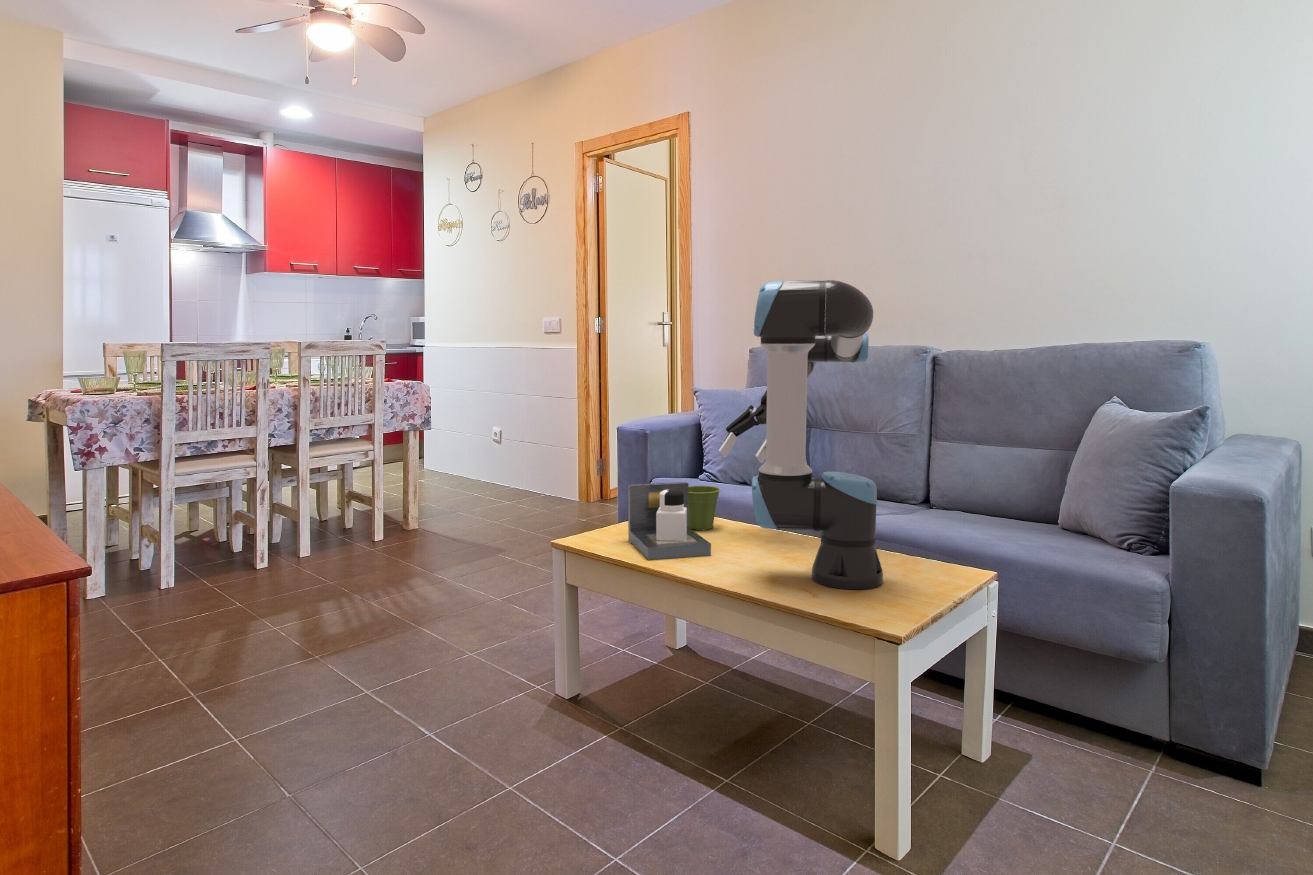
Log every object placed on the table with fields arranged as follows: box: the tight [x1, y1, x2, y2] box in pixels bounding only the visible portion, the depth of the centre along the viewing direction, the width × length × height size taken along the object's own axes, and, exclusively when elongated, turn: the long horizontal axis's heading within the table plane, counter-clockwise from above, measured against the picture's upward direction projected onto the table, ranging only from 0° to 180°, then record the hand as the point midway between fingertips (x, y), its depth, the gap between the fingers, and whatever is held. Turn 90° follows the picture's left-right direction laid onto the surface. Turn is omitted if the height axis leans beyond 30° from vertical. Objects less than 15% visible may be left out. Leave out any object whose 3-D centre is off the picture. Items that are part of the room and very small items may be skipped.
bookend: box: [627, 481, 712, 560], centre depth 195 cm, size 20×16×15 cm
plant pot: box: [688, 485, 722, 531], centre depth 218 cm, size 12×12×11 cm
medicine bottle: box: [656, 489, 687, 541], centre depth 192 cm, size 7×7×12 cm
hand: (739, 456), depth 200 cm, fingers open, 13 cm apart
